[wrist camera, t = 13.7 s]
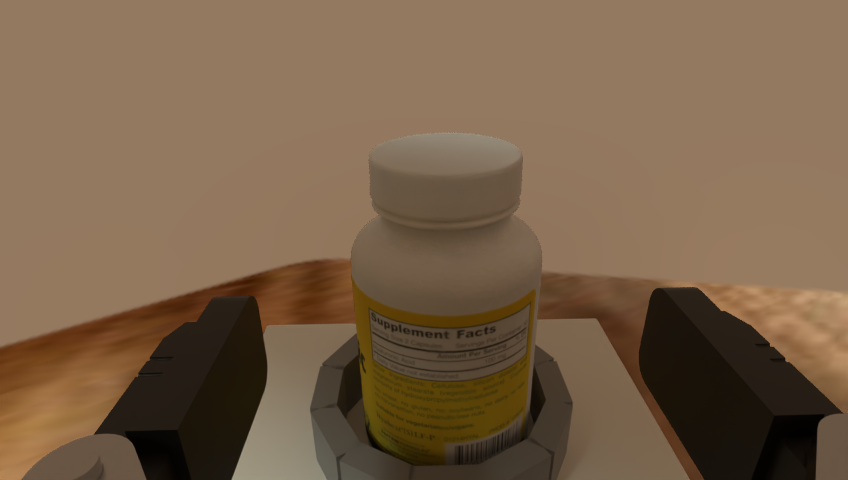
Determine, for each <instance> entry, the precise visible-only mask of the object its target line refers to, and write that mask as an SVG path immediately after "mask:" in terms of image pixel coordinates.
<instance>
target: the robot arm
mask: <svg viewBox="0 0 848 480" xmlns="http://www.w3.org/2000/svg"><path fill="white" fill-rule="evenodd" d="M639 366H640V371H641V375H642V378H643V380H644V382H645V384H646V385H647V387H648V389H649V390H650V392H651V393H652V395H653V397H654V398H655V400H656V402H657V403H658V405H659V406H660V408H661V410H662V411H663V413H664V415H665V416H666V418H667V419H668V421H669V423H670V424H671V426H672V428H673V429H674V431H675V432H676V434H677V436H678V437H679V439H680V440H681V442H682V444H683V445H684V447H685V449H686V450H687V452H688V453H689V455H690V457H691V458H692V460H693V462H694V463H695V465H696V466H697V468H698V470H699V471H700V473H701V474H702V476H703V478H704V479H705V480H848V414H843V413H842V412H841V411H840V410H839V409H838V408H837V407H836V406H835V405H834V404H833V403H832V402H831V401H830V400H829V399H828V398H827V397H826V396H825V395H823V394H822V393H821V392H820V391H819V390H818V389H817V388H816V387H815V386H814V385H813V384H812V383H811V382H810V381H809V380H808V379H807V378H806V377H805V376H803V375H802V374H801V373H800V372H799V371H798V370H797V369H796V368H795V367H794V366H793V365H792V364H791V363H790V362H786V361H785V357H783V356H782V355H781V354H780V353H779V352H778V351H777V350H776V349H775V348H774V347H770V343H769V342H768V341H767V340H766V339H765V338H764V337H762V336H761V335H760V334H759V333H758V332H757V331H756V330H755V329H754V328H753V327H752V326H751V325H749V324H747V323H745V322H744V321H742V320H740V319H738V318H736V317H735V316H733V315H731V314H729V313H728V312H726V311H721V310H720V309H719V308H718V307H717V306H716V305H715V304H714V303H713V302H712V301H711V300H710V299H709V298H708V297H707V296H706V295H705V294H704V293H703V292H702V291H701V290H699V289H698V288H695V287H682V288H657V289H655V290H654V291H653V292H652V294H651V297H650V301H649V306H648V310H647V315H646V320H645V325H644V330H643V335H642V340H641V345H640V350H639ZM267 371H268V365H267V356H266V350H265V344H264V338H263V332H262V327H261V321H260V315H259V309H258V304H257V301H256V299H255V298H254V297H253V296H233V297H214V298H213V299H212V300H211V301H210V302H209V304H208V305H207V307H206V308H205V310H204V312H203V313H202V315H201V316H200V318H199V319H198V321H197V322H186V323H184V324H183V325H182V326H180V327H179V328H177V329H176V330H175V331H173V332H172V333H171V334H169V335H168V336H166V337H165V338H164V339H163V340H162V341H161V343H160V344H159V345H158V347H157V348H156V350H155V351H154V352H153V354H152V355H151V356H150V361H147V362H146V363H145V365H144V366H143V368H142V369H141V370H140V372H139V376H138V377H135V379H134V380H133V381H132V383H131V384H130V385H129V387H128V388H127V390H126V391H125V392H124V394H123V395H122V396H121V398H120V399H119V401H118V402H117V403H116V405H115V406H114V407H113V409H112V410H111V412H110V413H109V414H108V416H107V417H106V418H105V420H104V421H103V423H102V424H101V425H100V427H99V428H98V430H97V431H96V432H95V434H94V435H91V436H87V437H83V438H80V439H77V440H74V441H72V442H69V443H67V444H65V445H63V446H61V447H59V448H57V449H56V450H54V451H52V452H51V453H49V454H48V455H46V456H45V457H43V458H42V459H41V460H40V461H38V462H37V463H36V464H35V465H34V466H33V467H32V468H31V469H30V470H29V471H28V472H27V473H26V474H25V476H24V477H23V478H22V480H232V477H233V475H234V472H235V469H236V467H237V464H238V461H239V459H240V456H241V453H242V450H243V448H244V445H245V442H246V440H247V437H248V434H249V431H250V429H251V426H252V423H253V421H254V418H255V415H256V413H257V410H258V407H259V404H260V402H261V399H262V396H263V394H264V391H265V387H266V382H267Z"/></svg>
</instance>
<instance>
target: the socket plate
mask: <svg viewBox="0 0 848 480" xmlns="http://www.w3.org/2000/svg"><path fill="white" fill-rule="evenodd" d="M263 338H264V344H265V350H266V356H267V365H268V371H267V382H266V387H265V391H264V394H263V396H262V399H261V402H260V404H259V407H258V410H257V413H256V415H255V418H254V421H253V423H252V426H251V429H250V431H249V434H248V437H247V440H246V442H245V445H244V448H243V450H242V453H241V456H240V459H239V461H238V464H237V467H236V469H235V472H234V475H233V477H232V480H690V479H689V477H688V475H687V473H686V472H685V470H684V468H683V467H682V465H681V463H680V461H679V460H678V458H677V456H676V455H675V453H674V451H673V449H672V448H671V446H670V444H669V443H668V441H667V439H666V437H665V436H664V434H663V432H662V430H661V429H660V427H659V425H658V424H657V422H656V420H655V418H654V417H653V415H652V413H651V412H650V410H649V408H648V406H647V405H646V403H645V401H644V399H643V398H642V396H641V394H640V393H639V391H638V389H637V387H636V386H635V384H634V382H633V381H632V379H631V377H630V375H629V374H628V372H627V370H626V368H625V367H624V365H623V363H622V362H621V360H620V358H619V356H618V355H617V353H616V351H615V350H614V348H613V346H612V344H611V343H610V341H609V339H608V337H607V336H606V334H605V332H604V331H603V329H602V327H601V325H600V324H599V322H598V320H597V319H596V318H589V319H540V320H537V328H536V341H535V353H534V365H533V376H532V389H531V400H530V411H529V422H528V433H527V439H526V440H524V441H522V442H520V443H518V444H516V445H514V446H512V447H511V448H509V449H507V450H505V451H503V452H501V453H499V454H498V455H496V456H494V457H492V458H490V459H488V460H486V461H484V462H483V463H481V464H477V465H438V466H413V465H410V464H408V463H406V462H404V461H402V460H399V459H397V458H395V457H393V456H390V455H388V454H386V453H384V452H381V451H379V450H377V449H375V448H372V447H370V446H369V443H368V439H367V432H366V426H365V417H364V407H363V395H362V383H361V373H360V362H359V354H358V339H357V330H356V323H347V324H298V325H267V327H266V330H265V332H264V334H263Z"/></svg>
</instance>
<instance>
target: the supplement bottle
mask: <svg viewBox="0 0 848 480" xmlns="http://www.w3.org/2000/svg"><path fill="white" fill-rule="evenodd" d="M522 162H523V157H522V152H521V150H520V149H519V148H518V147H517V146H516V145H514V144H512V143H510V142H508V141H505V140H503V139H498V138H495V137H490V136H484V135H477V134H469V133H431V134H430V133H429V134H418V135H411V136H405V137H401V138H396V139H393V140H389V141H386V142H383V143H381V144H379V145H377V146H376V147H374V148H373V149H372V150H371V152H370V154H369V173H370V195H371V198H372V206H373V208H374V210H375V211H376V212H377V213H378V214H379V215H378V216H377V217H375V218H374V219H372V220H371V221H370V222H369V223H368V224H366V225H365V226H364V228H363V229H362V230H361V231H360V232H359V234H358V235H357V237H356V239H355V241H354V244H353V247H352V252H351V277H352V287H353V298H354V309H355V320H356V330H357V339H358V354H359V362H360V373H361V383H362V395H363V407H364V417H365V426H366V432H367V439H368V443H369V446H370V447H372V448H375V449H377V450H379V451H381V452H384V453H386V454H388V455H390V456H393V457H395V458H397V459H399V460H402V461H404V462H406V463H408V464H410V465H413V466H438V465H477V464H481V463H483V462H484V461H486V460H488V459H490V458H492V457H494V456H496V455H498V454H499V453H501V452H503V451H505V450H507V449H509V448H511V447H512V446H514V445H516V444H518V443H520V442H522V441H524V440H526V439H527V433H528V422H529V411H530V400H531V389H532V376H533V365H534V353H535V341H536V328H537V317H538V306H539V295H540V283H541V270H542V251H541V246H540V243H539V241H538V238H537V236H536V235H535V233H534V232H533V231H532V229H531V228H530V227H529V226H528V225H527V224H526V223H525V222H524V221H522V220H521V219H520V218H518V217H517V216H515V215H513V213H514V212H515V211H516V210H517V209H518V207H519V205H520V198H519V197H520V195H521V182H522Z"/></svg>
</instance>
